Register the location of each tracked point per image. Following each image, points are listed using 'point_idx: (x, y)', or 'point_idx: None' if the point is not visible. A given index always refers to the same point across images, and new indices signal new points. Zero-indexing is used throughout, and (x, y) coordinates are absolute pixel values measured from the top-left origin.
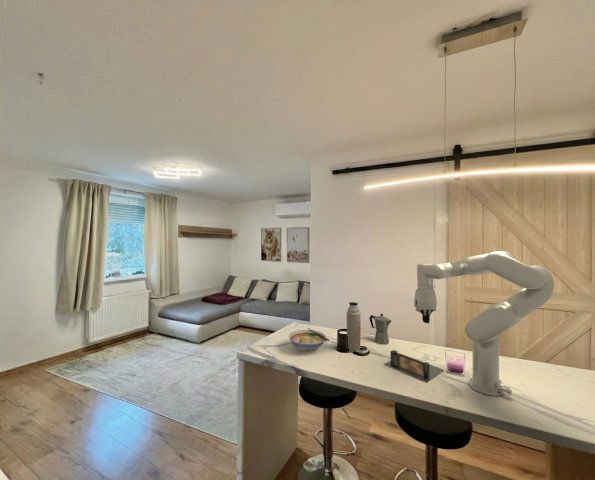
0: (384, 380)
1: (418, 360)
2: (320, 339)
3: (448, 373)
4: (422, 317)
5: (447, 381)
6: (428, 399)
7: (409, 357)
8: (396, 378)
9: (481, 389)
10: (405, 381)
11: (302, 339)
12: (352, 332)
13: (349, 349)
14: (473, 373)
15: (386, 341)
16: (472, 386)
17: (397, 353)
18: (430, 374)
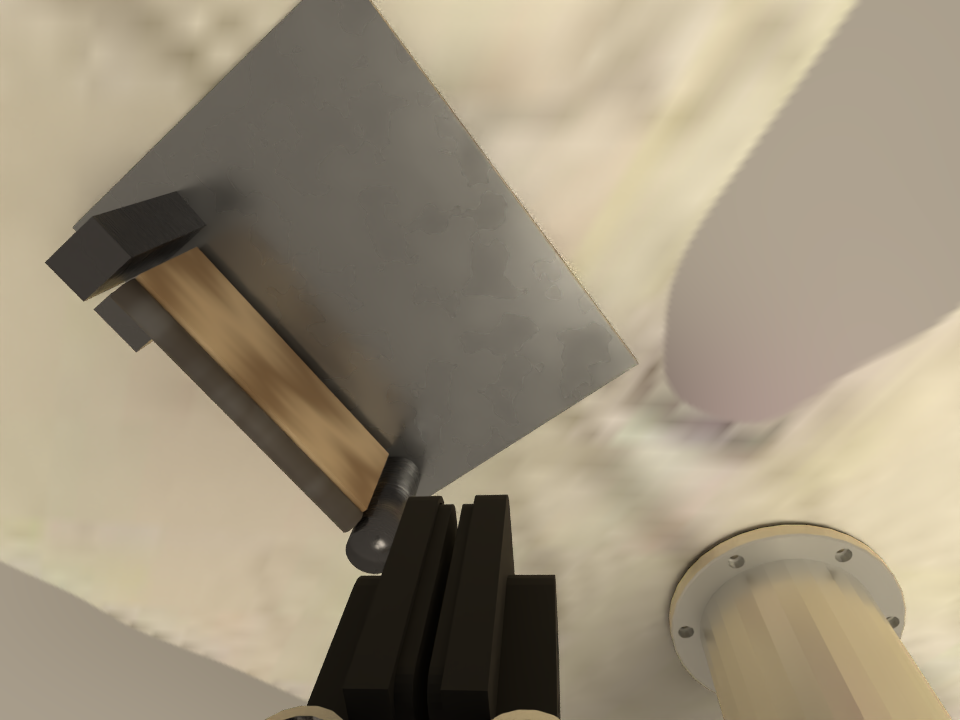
0: (53, 482)
1: (312, 495)
2: None
3: (644, 408)
4: (333, 643)
5: (546, 520)
6: (296, 680)
7: (239, 423)
8: (151, 461)
9: (704, 666)
10: (211, 502)
11: None
12: None
13: None
14: (725, 678)
15: None
16: (671, 629)
17: (127, 312)
18: (453, 438)
